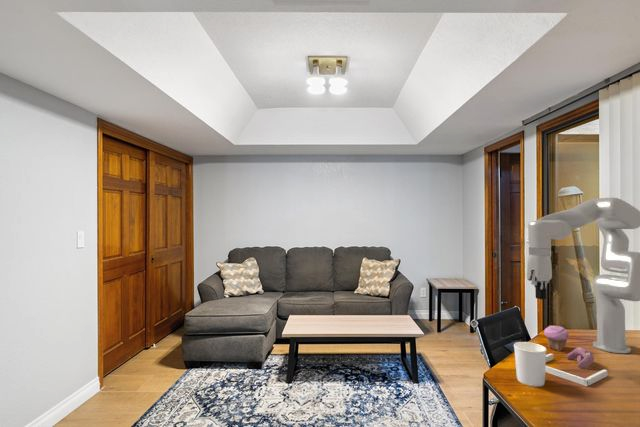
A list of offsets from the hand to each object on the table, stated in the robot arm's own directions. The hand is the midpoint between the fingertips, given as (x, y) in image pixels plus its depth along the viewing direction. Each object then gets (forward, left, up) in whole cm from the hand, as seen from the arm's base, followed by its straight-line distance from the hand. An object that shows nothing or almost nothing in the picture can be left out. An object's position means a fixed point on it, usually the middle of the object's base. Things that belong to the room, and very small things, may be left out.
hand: (540, 298), depth 140 cm
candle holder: (+21, +7, -25) cm, 33 cm away
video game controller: (-11, +9, -25) cm, 29 cm away
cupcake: (-19, -4, -25) cm, 32 cm away
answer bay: (+1, +9, -25) cm, 27 cm away
